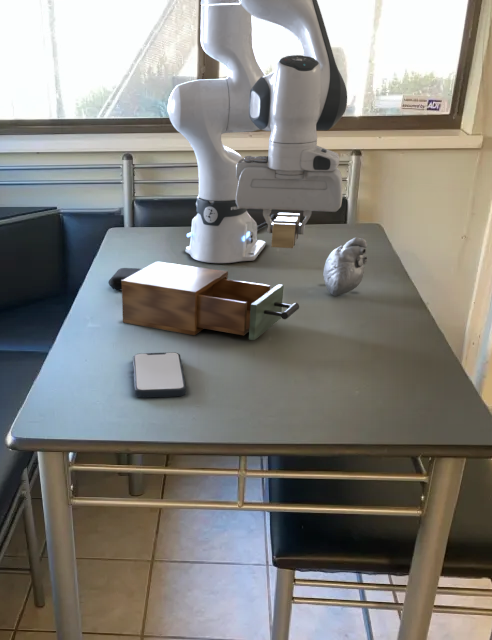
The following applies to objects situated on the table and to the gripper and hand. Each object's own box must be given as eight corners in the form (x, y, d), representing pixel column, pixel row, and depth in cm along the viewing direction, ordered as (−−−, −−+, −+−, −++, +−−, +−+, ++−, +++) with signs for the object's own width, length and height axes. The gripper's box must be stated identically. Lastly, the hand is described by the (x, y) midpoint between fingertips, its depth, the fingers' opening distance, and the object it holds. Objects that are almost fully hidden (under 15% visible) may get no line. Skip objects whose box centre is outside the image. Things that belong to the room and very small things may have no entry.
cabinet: (226, 312, 171) (228, 271, 166) (194, 335, 160) (195, 292, 155) (157, 301, 178) (156, 261, 173) (122, 322, 167) (121, 280, 163)
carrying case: (105, 293, 183) (169, 296, 180) (104, 279, 181) (169, 282, 178) (117, 278, 192) (178, 281, 189) (117, 265, 190) (179, 268, 187)
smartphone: (187, 398, 137) (180, 359, 150) (187, 389, 136) (180, 351, 149) (134, 399, 137) (132, 361, 150) (134, 391, 136) (132, 353, 149)
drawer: (304, 322, 162) (307, 288, 158) (278, 344, 153) (281, 309, 149) (211, 307, 171) (212, 274, 167) (182, 327, 162) (182, 293, 158)
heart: (323, 280, 185) (326, 228, 177) (365, 283, 182) (371, 231, 174) (314, 302, 179) (318, 249, 170) (359, 305, 176) (364, 252, 167)
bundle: (276, 235, 166) (278, 211, 163) (298, 236, 165) (300, 212, 162) (270, 247, 159) (272, 222, 156) (293, 248, 158) (295, 223, 155)
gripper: (233, 158, 153) (230, 235, 161) (345, 161, 148) (336, 239, 156) (239, 152, 158) (236, 226, 166) (347, 154, 153) (339, 231, 161)
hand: (285, 233), depth 161 cm, fingers closed on bundle, 4 cm apart
